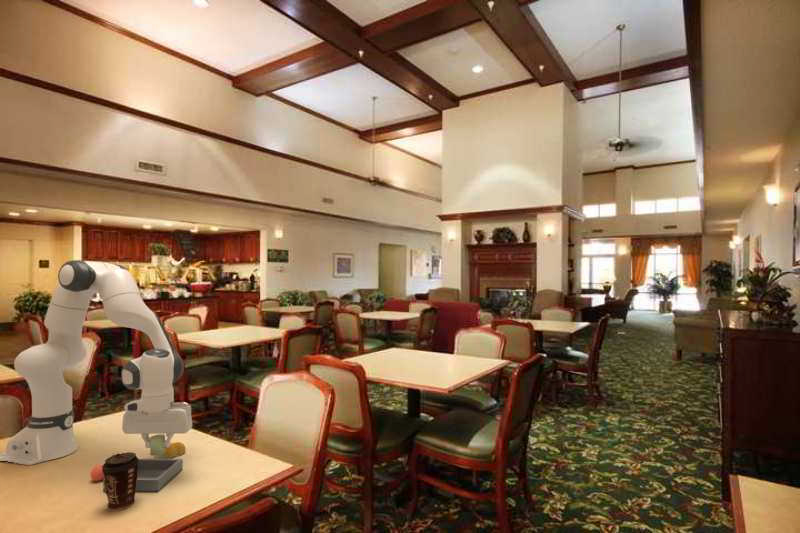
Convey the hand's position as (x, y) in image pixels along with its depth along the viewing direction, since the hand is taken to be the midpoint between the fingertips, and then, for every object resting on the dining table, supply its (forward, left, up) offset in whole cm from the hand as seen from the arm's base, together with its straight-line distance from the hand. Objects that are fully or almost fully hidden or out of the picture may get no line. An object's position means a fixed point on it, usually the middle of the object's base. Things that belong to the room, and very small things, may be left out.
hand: (157, 446), depth 136 cm
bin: (-3, -2, -9) cm, 10 cm away
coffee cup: (-1, -16, -10) cm, 18 cm away
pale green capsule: (0, 0, -2) cm, 2 cm away
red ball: (-17, -2, -7) cm, 18 cm away
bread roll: (-5, +16, -10) cm, 20 cm away
